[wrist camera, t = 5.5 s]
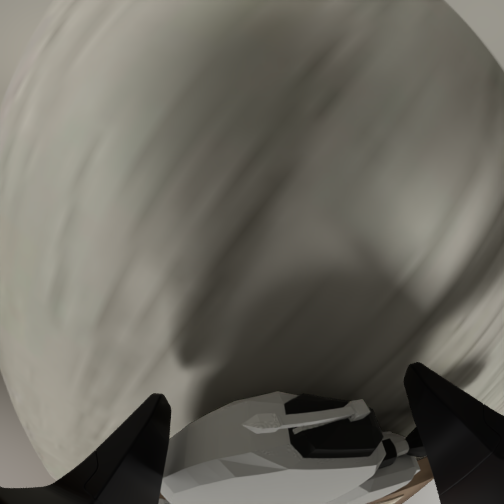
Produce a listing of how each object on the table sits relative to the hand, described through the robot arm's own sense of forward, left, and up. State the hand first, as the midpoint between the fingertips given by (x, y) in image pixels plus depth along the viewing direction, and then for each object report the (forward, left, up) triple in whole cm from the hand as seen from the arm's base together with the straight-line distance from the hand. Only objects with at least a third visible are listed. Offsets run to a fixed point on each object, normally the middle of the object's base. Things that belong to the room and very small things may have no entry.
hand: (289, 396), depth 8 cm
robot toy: (-1, +6, -1) cm, 6 cm away
